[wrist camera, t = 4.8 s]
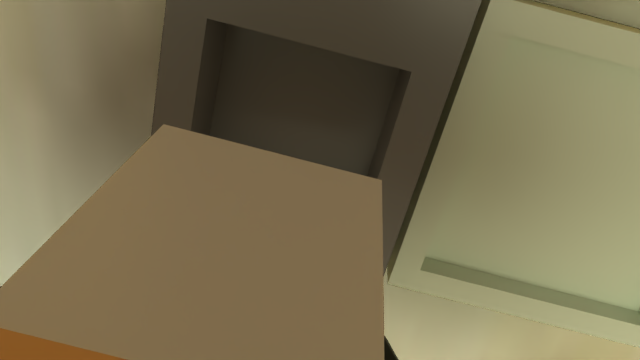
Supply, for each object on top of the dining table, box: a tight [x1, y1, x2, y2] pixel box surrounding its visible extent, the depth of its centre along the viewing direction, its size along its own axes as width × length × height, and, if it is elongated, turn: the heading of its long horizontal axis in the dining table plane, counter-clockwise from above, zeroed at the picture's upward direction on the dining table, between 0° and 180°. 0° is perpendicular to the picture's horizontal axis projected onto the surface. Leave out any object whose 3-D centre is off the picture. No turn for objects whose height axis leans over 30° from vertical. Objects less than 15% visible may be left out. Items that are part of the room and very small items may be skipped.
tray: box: [387, 0, 640, 348], centre depth 17 cm, size 9×9×2 cm
